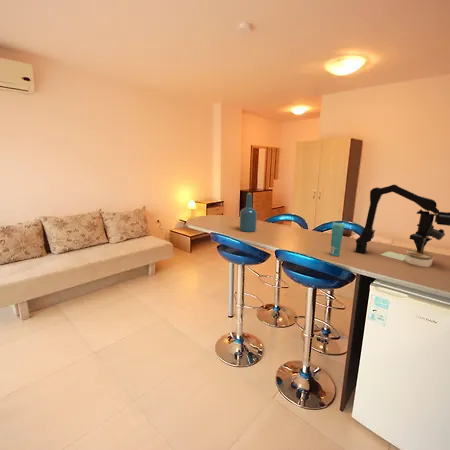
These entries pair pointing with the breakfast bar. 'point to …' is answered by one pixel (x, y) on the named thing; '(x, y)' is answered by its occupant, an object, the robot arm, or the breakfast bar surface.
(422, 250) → the lid
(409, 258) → the bowl
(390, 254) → the mat
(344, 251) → the breakfast bar surface
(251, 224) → the wine bottle
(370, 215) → the robot arm
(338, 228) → the tube
